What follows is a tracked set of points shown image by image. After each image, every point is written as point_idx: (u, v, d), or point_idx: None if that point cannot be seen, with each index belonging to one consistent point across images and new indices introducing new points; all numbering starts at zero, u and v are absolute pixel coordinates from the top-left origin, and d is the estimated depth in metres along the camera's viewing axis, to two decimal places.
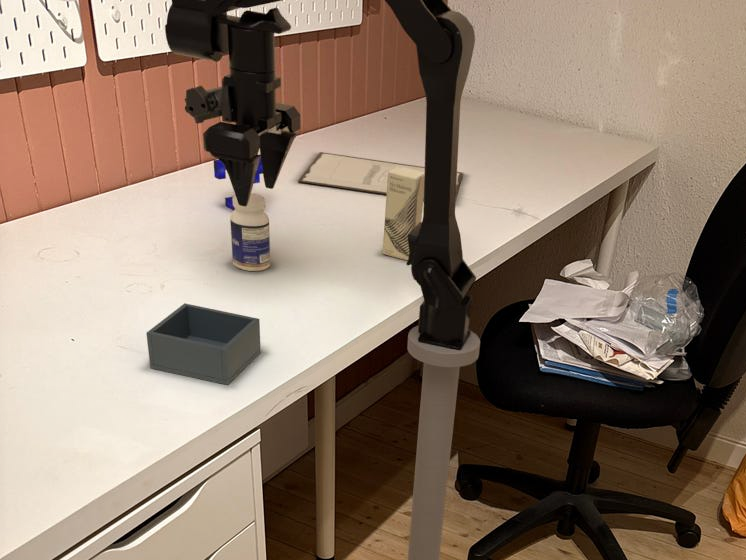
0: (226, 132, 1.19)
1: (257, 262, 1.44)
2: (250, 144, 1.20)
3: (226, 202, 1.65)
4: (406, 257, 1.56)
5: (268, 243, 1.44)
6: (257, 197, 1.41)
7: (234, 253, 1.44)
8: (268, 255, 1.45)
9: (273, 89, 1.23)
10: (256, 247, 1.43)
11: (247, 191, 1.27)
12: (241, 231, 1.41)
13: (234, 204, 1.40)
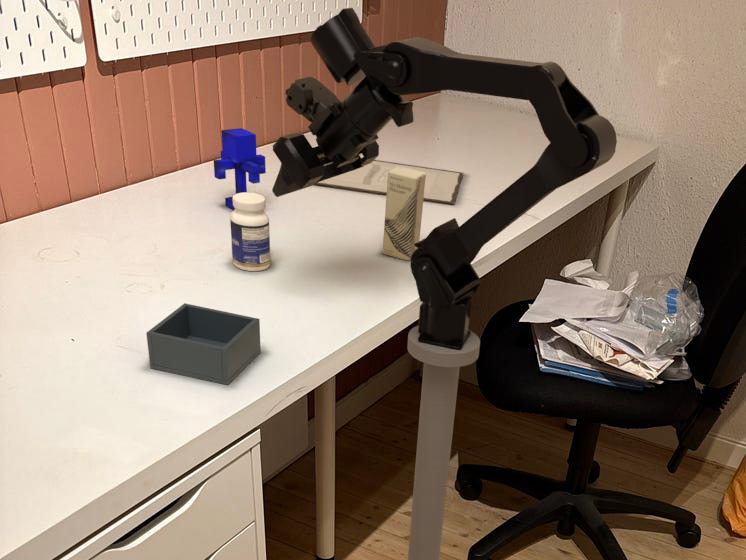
0: (298, 156, 1.23)
1: (257, 262, 1.44)
2: (309, 180, 1.25)
3: (226, 202, 1.65)
4: (406, 257, 1.56)
5: (268, 243, 1.44)
6: (257, 197, 1.41)
7: (234, 253, 1.44)
8: (268, 255, 1.45)
9: (364, 145, 1.28)
10: (256, 247, 1.43)
11: (285, 192, 1.31)
12: (241, 231, 1.41)
13: (234, 204, 1.40)
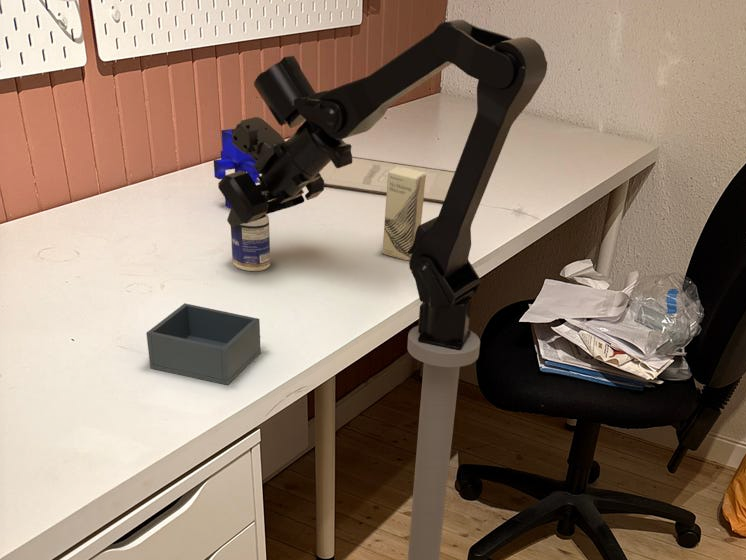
0: (242, 194, 1.30)
1: (257, 262, 1.44)
2: (253, 216, 1.32)
3: (226, 202, 1.65)
4: (406, 257, 1.56)
5: (268, 243, 1.44)
6: None
7: (234, 253, 1.44)
8: (268, 255, 1.45)
9: (307, 183, 1.35)
10: (256, 247, 1.43)
11: (238, 222, 1.39)
12: (241, 231, 1.41)
13: None
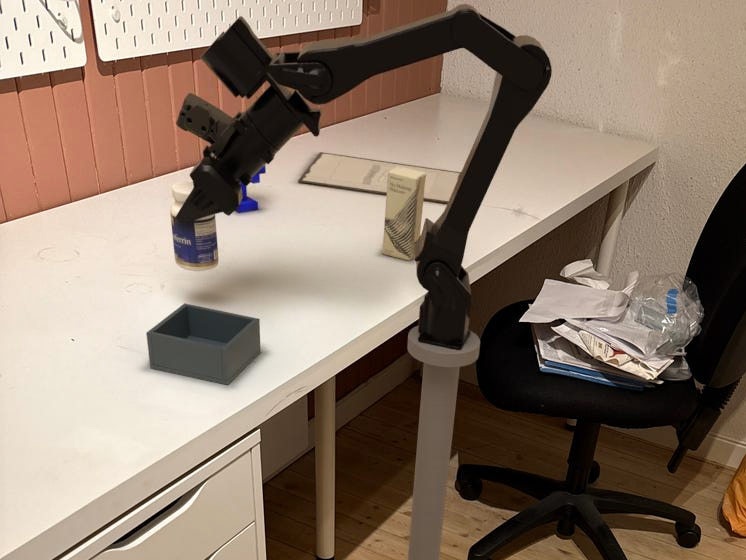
0: (224, 183, 1.15)
1: (212, 259, 1.28)
2: None
3: None
4: (406, 257, 1.56)
5: (216, 235, 1.28)
6: None
7: (183, 254, 1.26)
8: (217, 249, 1.29)
9: None
10: (210, 243, 1.26)
11: (194, 217, 1.22)
12: (194, 227, 1.24)
13: (179, 198, 1.22)
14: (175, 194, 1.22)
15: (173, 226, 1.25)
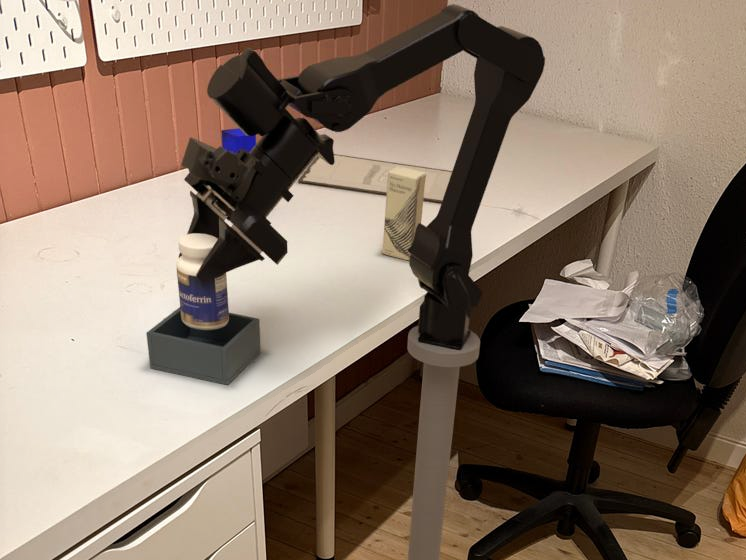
0: (274, 231, 1.07)
1: (227, 313, 1.17)
2: None
3: None
4: (406, 257, 1.56)
5: None
6: (203, 236, 1.12)
7: (202, 314, 1.15)
8: None
9: None
10: (226, 296, 1.16)
11: (218, 272, 1.11)
12: (214, 283, 1.13)
13: (196, 254, 1.10)
14: (190, 251, 1.10)
15: (187, 286, 1.12)
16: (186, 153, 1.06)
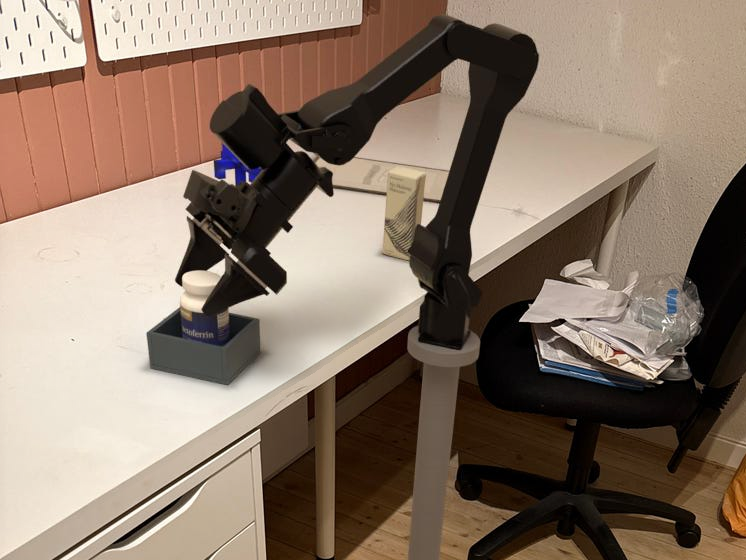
0: (274, 262, 1.09)
1: None
2: None
3: None
4: (406, 257, 1.56)
5: None
6: (206, 274, 1.15)
7: None
8: None
9: None
10: (228, 331, 1.19)
11: (223, 306, 1.13)
12: (216, 319, 1.16)
13: (199, 291, 1.13)
14: (193, 288, 1.13)
15: (190, 322, 1.15)
16: (188, 185, 1.08)
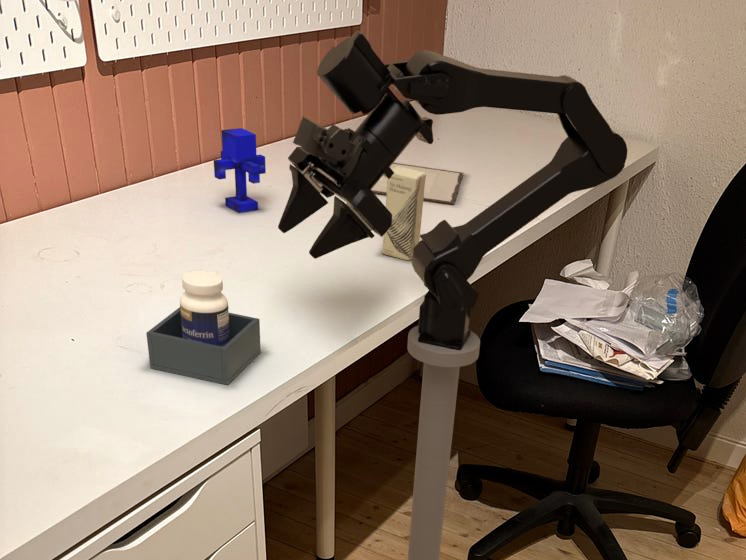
0: (382, 204, 1.14)
1: None
2: None
3: (226, 202, 1.65)
4: (406, 257, 1.56)
5: None
6: (206, 274, 1.15)
7: None
8: None
9: None
10: (228, 331, 1.18)
11: (330, 249, 1.17)
12: (216, 319, 1.16)
13: (199, 291, 1.13)
14: (193, 288, 1.13)
15: (190, 322, 1.15)
16: (299, 131, 1.13)
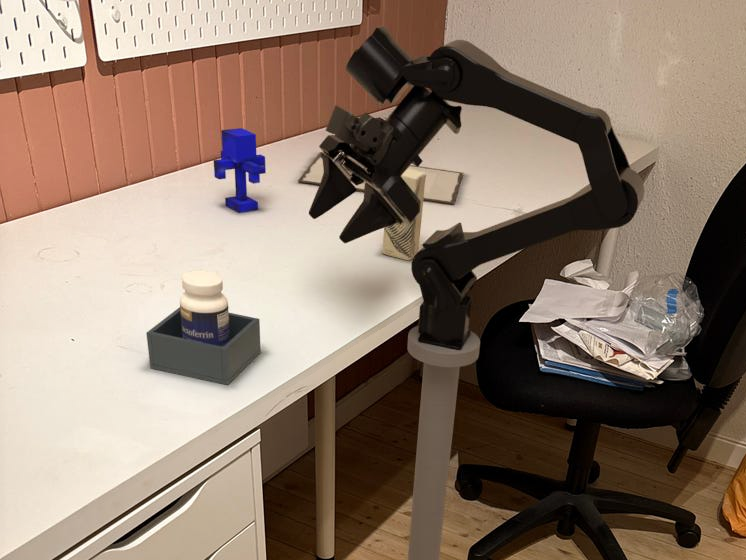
0: (411, 191, 1.17)
1: None
2: None
3: (226, 202, 1.65)
4: (406, 257, 1.56)
5: None
6: (206, 274, 1.15)
7: None
8: None
9: None
10: (228, 331, 1.18)
11: (359, 234, 1.21)
12: (216, 319, 1.16)
13: (199, 291, 1.13)
14: (193, 288, 1.13)
15: (190, 322, 1.15)
16: (331, 119, 1.17)
